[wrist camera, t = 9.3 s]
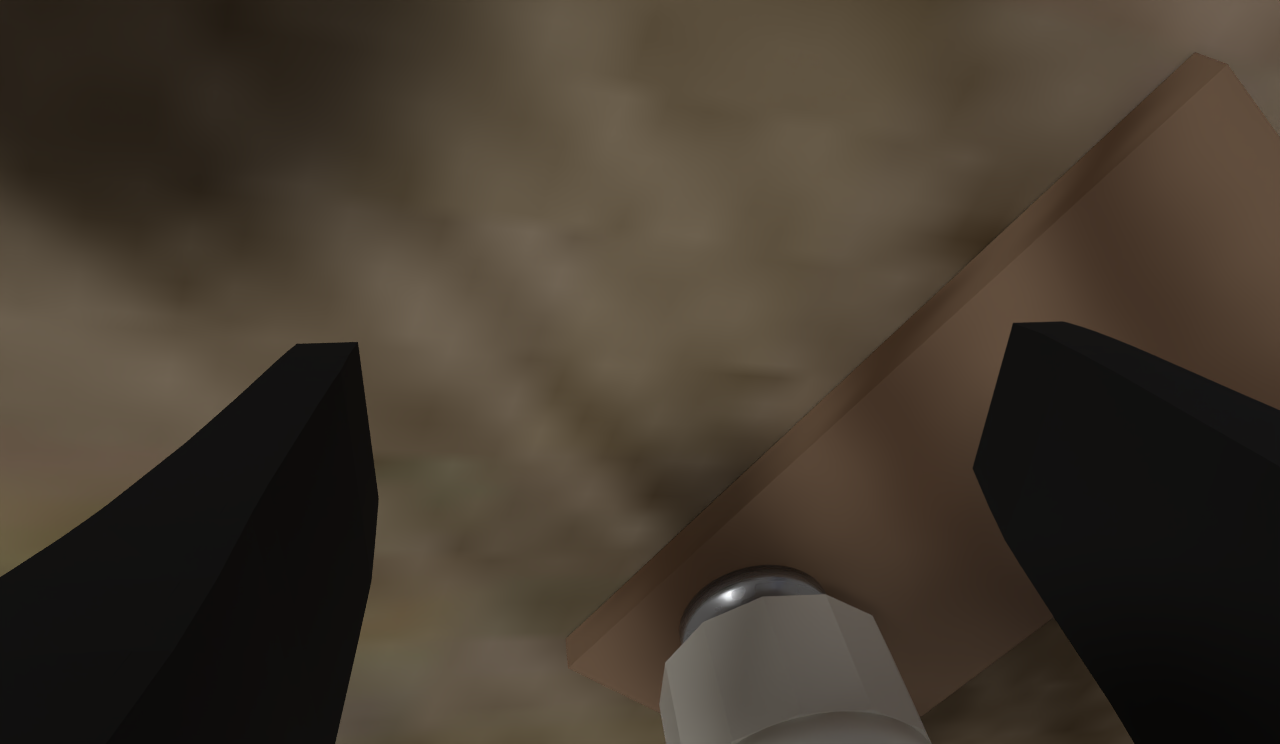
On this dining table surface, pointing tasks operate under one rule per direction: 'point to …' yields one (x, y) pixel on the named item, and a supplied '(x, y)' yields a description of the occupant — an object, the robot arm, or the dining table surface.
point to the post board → (981, 403)
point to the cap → (787, 679)
